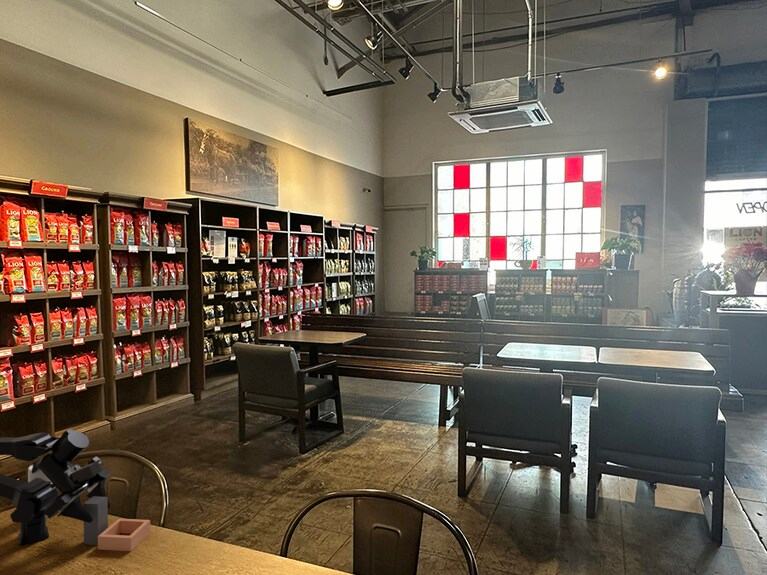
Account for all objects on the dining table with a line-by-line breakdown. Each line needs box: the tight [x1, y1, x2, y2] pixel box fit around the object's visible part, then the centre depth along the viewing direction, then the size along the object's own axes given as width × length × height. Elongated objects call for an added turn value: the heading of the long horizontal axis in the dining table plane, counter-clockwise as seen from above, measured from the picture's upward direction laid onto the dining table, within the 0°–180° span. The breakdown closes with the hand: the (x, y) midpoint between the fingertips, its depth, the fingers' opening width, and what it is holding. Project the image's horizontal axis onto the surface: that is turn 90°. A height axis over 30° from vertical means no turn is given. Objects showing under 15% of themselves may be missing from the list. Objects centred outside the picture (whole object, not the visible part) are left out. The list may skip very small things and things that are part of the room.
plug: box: [82, 496, 109, 546], centre depth 131 cm, size 4×4×11 cm
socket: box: [97, 518, 151, 552], centre depth 131 cm, size 9×9×4 cm
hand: (100, 514), depth 131 cm, fingers open, 7 cm apart
